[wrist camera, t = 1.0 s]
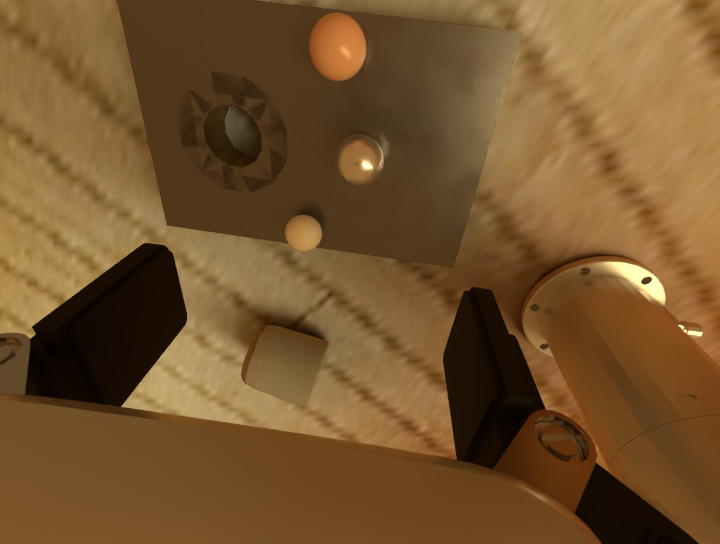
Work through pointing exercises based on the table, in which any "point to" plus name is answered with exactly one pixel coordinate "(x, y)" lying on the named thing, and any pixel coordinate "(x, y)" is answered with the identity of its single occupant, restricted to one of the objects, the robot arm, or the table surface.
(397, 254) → the grey metal slab
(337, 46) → the terracotta ball
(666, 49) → the table surface
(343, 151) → the steel ball
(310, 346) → the ceramic mug
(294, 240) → the cream ball
